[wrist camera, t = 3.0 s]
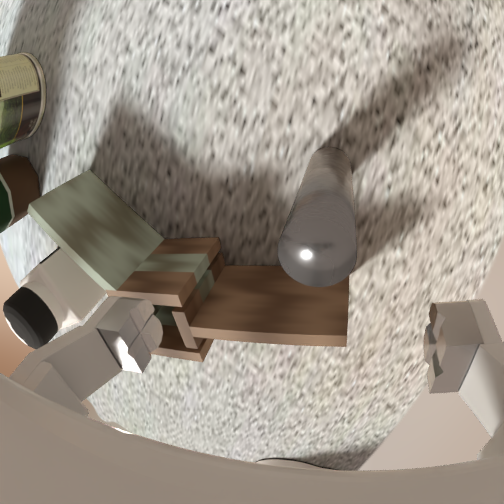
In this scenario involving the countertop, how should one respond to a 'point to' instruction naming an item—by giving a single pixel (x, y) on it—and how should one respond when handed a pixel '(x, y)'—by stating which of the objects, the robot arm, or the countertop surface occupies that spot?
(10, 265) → the countertop surface
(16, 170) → the beer bottle
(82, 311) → the medicine bottle
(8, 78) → the coffee can
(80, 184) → the stand
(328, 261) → the hinge pin
